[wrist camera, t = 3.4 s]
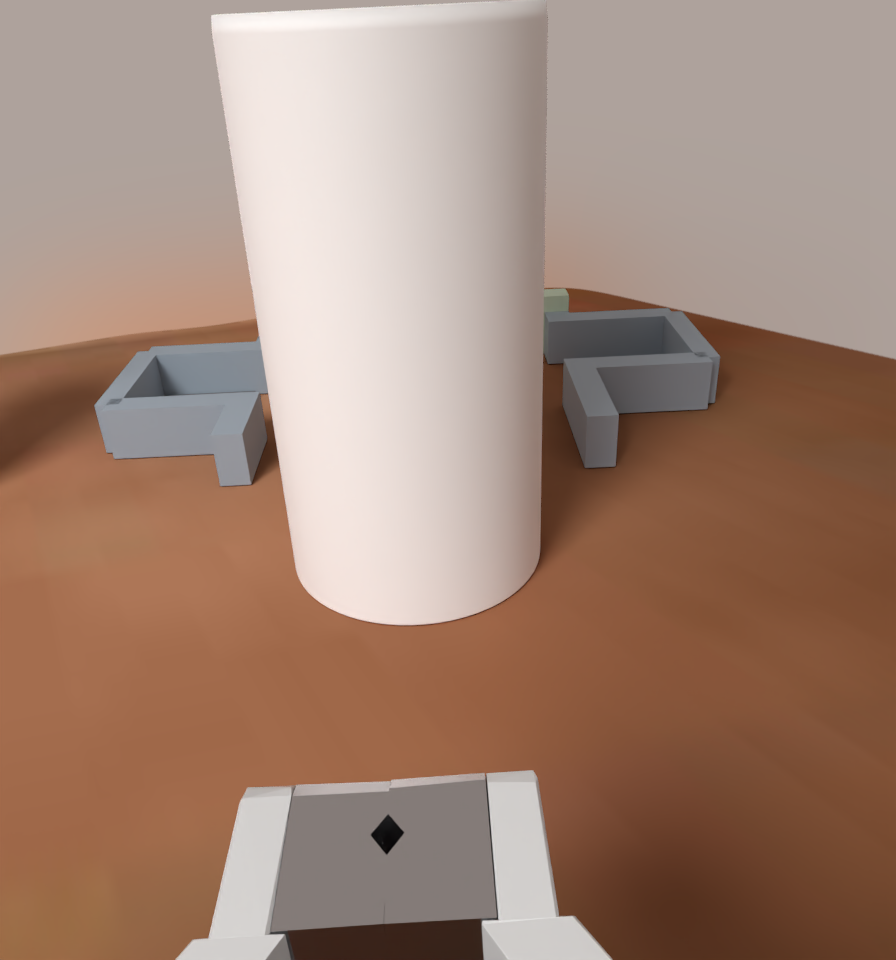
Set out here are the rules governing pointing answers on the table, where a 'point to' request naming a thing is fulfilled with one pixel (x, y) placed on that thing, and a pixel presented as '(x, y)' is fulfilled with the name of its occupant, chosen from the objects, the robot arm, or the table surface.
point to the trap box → (566, 339)
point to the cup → (398, 291)
